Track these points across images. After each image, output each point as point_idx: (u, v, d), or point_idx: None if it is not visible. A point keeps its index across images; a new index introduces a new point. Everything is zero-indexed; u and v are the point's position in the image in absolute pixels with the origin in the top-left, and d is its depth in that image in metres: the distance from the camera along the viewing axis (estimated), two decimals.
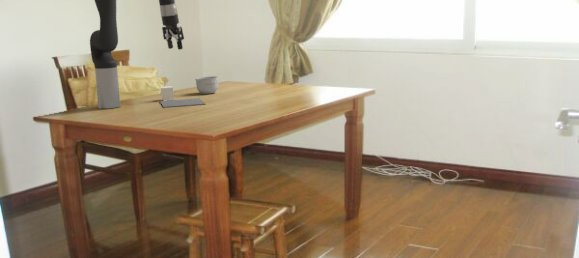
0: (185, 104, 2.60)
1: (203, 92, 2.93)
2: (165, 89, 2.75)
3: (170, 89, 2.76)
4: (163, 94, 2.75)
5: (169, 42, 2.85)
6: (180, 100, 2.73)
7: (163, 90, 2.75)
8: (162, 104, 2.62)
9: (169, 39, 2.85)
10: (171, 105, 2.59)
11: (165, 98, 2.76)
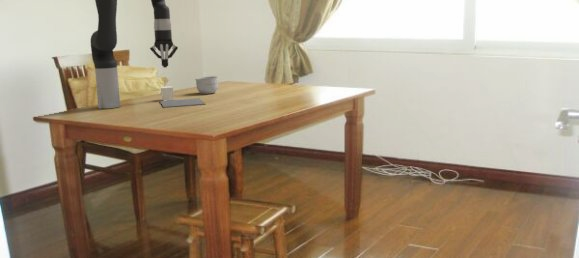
0: (185, 104, 2.60)
1: (203, 92, 2.93)
2: (165, 89, 2.75)
3: (170, 89, 2.76)
4: (163, 94, 2.75)
5: None
6: (180, 100, 2.73)
7: (163, 90, 2.75)
8: (162, 104, 2.62)
9: None
10: (171, 105, 2.59)
11: (165, 98, 2.76)
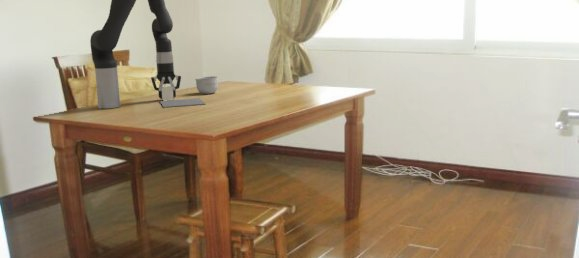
0: (185, 104, 2.60)
1: (203, 92, 2.93)
2: (165, 89, 2.75)
3: (170, 89, 2.76)
4: (163, 94, 2.75)
5: (161, 92, 2.77)
6: (180, 100, 2.73)
7: (163, 90, 2.75)
8: (162, 104, 2.62)
9: (160, 89, 2.77)
10: (171, 105, 2.59)
11: (165, 98, 2.76)
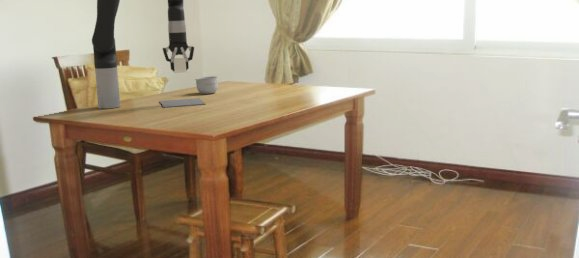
0: (185, 104, 2.60)
1: (203, 92, 2.93)
2: (177, 60, 2.61)
3: (183, 60, 2.61)
4: (175, 65, 2.61)
5: (173, 64, 2.63)
6: (180, 100, 2.73)
7: (175, 61, 2.61)
8: (162, 104, 2.62)
9: None
10: (171, 105, 2.59)
11: (177, 70, 2.61)
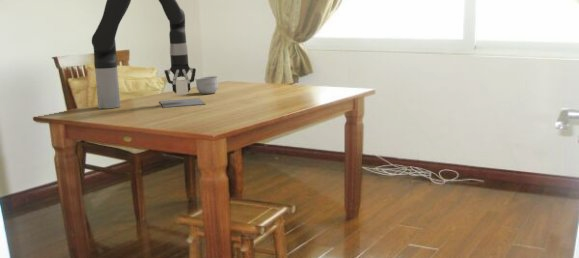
0: (185, 104, 2.60)
1: (203, 92, 2.93)
2: (179, 82, 2.63)
3: (184, 82, 2.63)
4: (177, 87, 2.63)
5: (175, 86, 2.65)
6: (180, 100, 2.73)
7: (177, 83, 2.63)
8: (162, 104, 2.62)
9: (174, 83, 2.65)
10: (171, 105, 2.59)
11: (179, 92, 2.63)
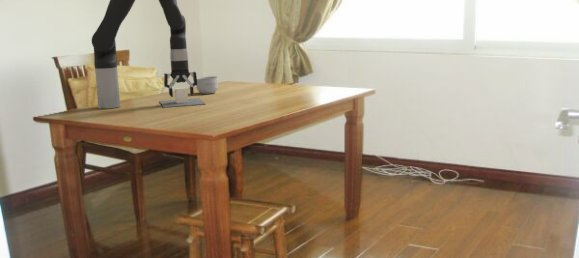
0: (185, 104, 2.60)
1: (203, 92, 2.93)
2: (179, 91, 2.63)
3: (185, 91, 2.64)
4: (177, 96, 2.64)
5: (172, 90, 2.64)
6: None
7: (177, 92, 2.63)
8: (162, 104, 2.62)
9: (171, 86, 2.64)
10: (171, 105, 2.59)
11: (179, 100, 2.64)
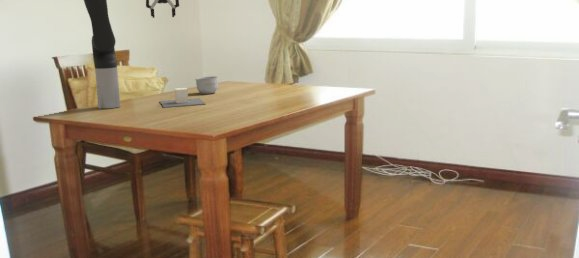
0: (185, 104, 2.60)
1: (203, 92, 2.93)
2: (179, 91, 2.63)
3: (185, 91, 2.64)
4: (177, 96, 2.64)
5: (153, 10, 2.64)
6: None
7: (177, 92, 2.63)
8: (162, 104, 2.62)
9: (153, 7, 2.64)
10: (171, 105, 2.59)
11: (179, 100, 2.64)
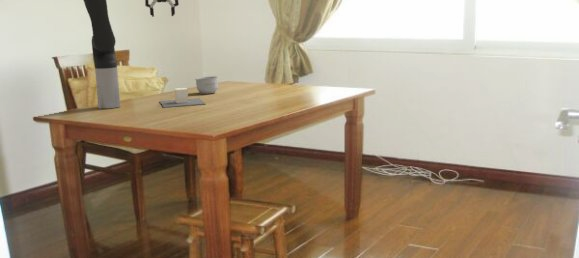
0: (185, 104, 2.60)
1: (203, 92, 2.93)
2: (179, 91, 2.63)
3: (185, 91, 2.64)
4: (177, 96, 2.64)
5: None
6: None
7: (177, 92, 2.63)
8: (162, 104, 2.62)
9: (152, 6, 2.64)
10: (171, 105, 2.59)
11: (179, 100, 2.64)
